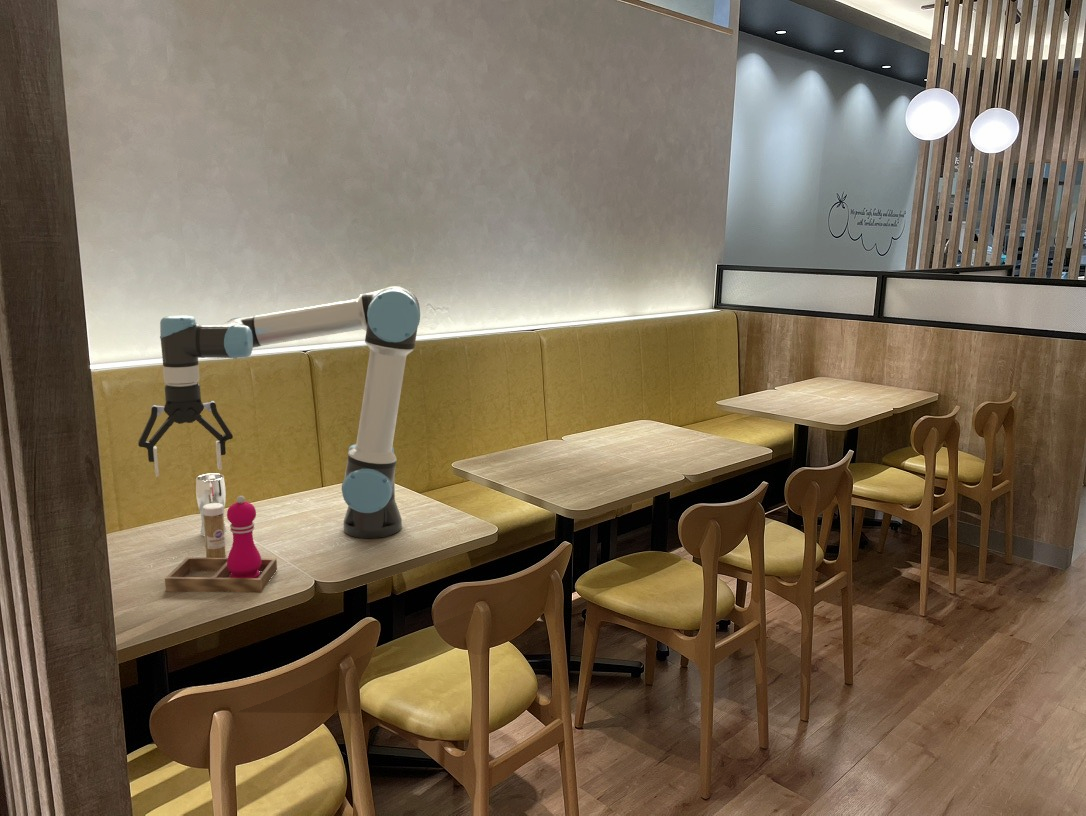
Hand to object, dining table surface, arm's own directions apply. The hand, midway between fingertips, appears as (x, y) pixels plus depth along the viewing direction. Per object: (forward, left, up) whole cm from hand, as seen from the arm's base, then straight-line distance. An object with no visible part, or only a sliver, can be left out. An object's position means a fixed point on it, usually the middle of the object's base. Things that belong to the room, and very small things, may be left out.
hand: (188, 471), depth 192 cm
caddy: (-13, +16, -20) cm, 29 cm away
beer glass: (0, -13, -21) cm, 25 cm away
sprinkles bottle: (-7, +4, -21) cm, 22 cm away
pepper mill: (-17, +16, -21) cm, 31 cm away
